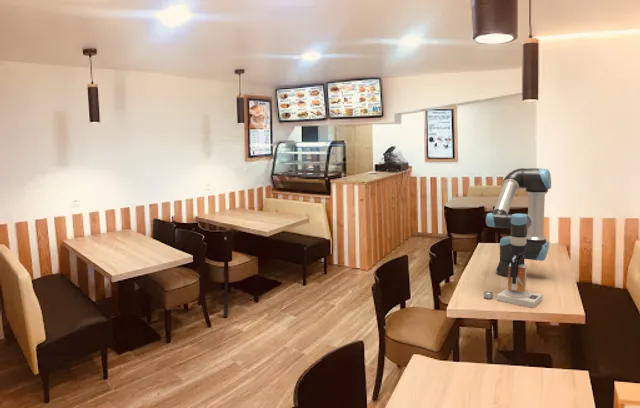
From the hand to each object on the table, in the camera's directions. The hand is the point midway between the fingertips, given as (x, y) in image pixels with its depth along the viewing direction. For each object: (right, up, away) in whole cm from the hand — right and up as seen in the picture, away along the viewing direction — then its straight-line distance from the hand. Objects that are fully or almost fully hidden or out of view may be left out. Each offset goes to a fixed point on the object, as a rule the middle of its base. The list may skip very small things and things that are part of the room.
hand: (517, 287), depth 235 cm
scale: (+1, -7, 0) cm, 7 cm away
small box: (0, -1, 0) cm, 1 cm away
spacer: (-13, -7, +5) cm, 15 cm away
